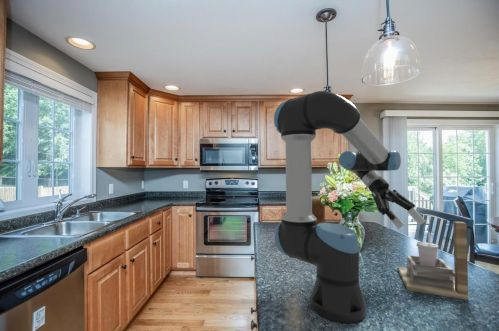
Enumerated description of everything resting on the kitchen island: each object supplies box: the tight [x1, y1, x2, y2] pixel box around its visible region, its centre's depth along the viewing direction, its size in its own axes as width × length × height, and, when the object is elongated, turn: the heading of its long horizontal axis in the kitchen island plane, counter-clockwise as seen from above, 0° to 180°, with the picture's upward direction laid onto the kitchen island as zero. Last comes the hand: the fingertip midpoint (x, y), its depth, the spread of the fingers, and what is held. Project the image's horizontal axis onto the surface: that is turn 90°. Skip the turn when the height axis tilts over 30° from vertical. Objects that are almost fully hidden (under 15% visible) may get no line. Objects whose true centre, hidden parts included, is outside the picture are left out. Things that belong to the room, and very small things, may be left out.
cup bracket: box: [397, 220, 469, 301], centre depth 86 cm, size 18×16×24 cm
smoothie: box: [416, 231, 440, 267], centre depth 86 cm, size 6×6×14 cm
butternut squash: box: [312, 195, 327, 225], centre depth 145 cm, size 14×13×25 cm
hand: (412, 224), depth 91 cm, fingers open, 13 cm apart
